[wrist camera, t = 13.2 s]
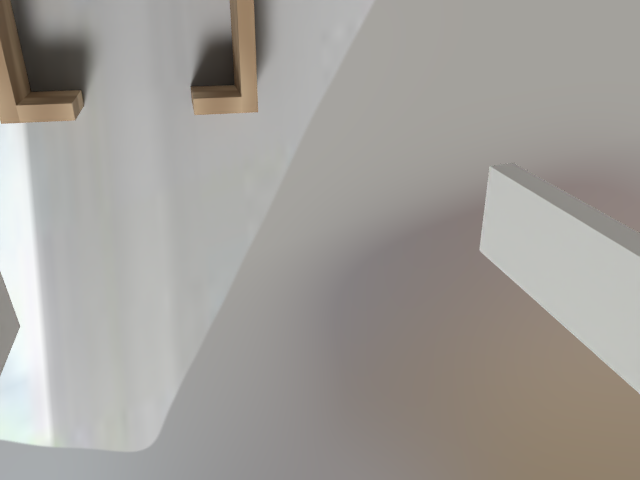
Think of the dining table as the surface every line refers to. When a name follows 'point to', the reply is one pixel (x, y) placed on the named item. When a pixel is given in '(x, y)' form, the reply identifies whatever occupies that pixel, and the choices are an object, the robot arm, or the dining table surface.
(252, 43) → the wooden brackets
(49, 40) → the dining table surface
